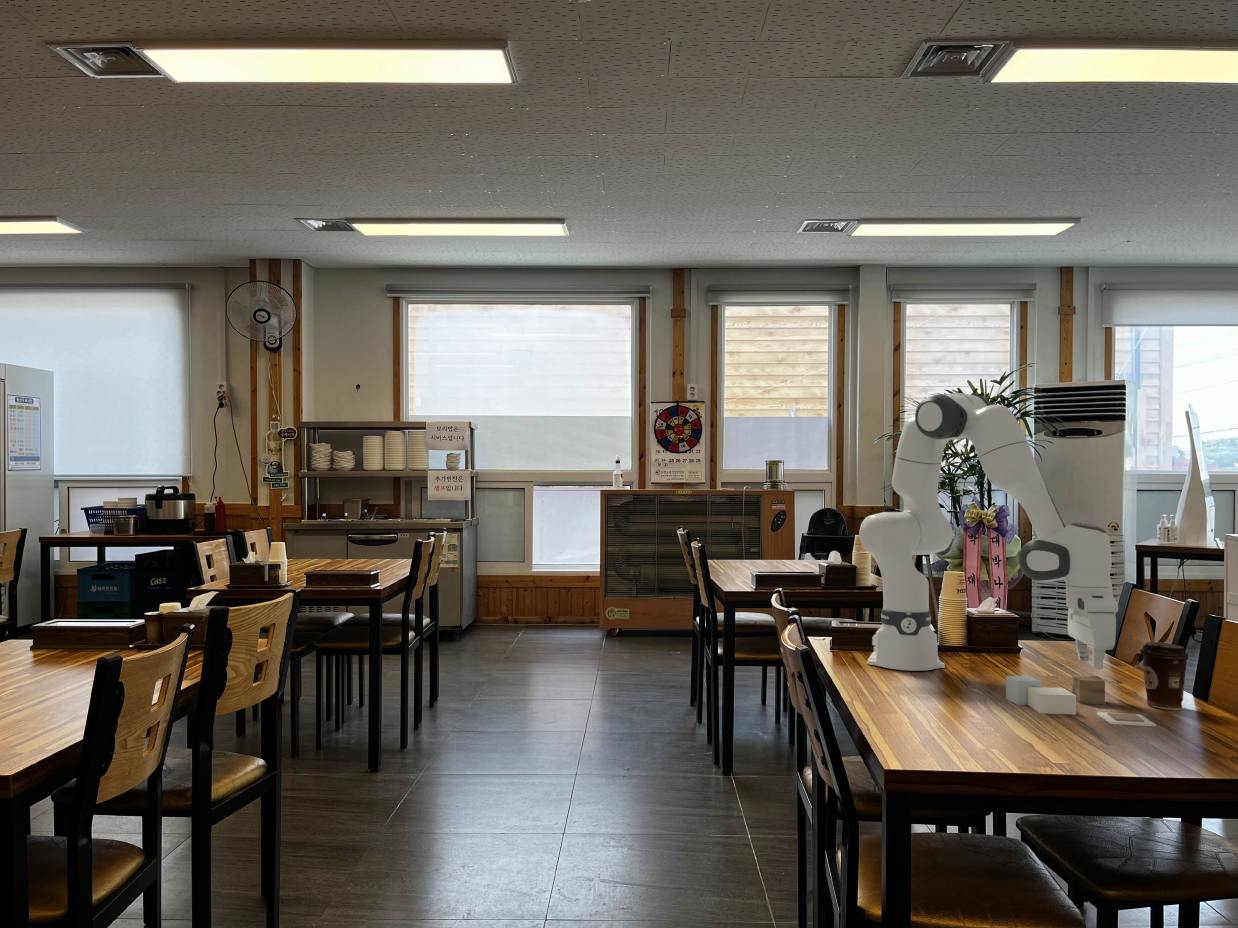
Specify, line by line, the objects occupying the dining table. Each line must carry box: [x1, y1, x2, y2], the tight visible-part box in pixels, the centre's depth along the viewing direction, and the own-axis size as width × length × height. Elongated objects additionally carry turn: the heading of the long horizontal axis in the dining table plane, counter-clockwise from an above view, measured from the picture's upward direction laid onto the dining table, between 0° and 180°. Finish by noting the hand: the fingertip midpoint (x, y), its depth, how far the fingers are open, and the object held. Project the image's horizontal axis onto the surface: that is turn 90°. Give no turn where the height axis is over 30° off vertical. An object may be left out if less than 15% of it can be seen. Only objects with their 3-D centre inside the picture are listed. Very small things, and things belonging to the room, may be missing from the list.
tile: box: [1096, 711, 1157, 727], centre depth 178 cm, size 8×8×1 cm
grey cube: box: [1005, 675, 1042, 706], centre depth 193 cm, size 5×5×5 cm
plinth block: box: [1027, 686, 1077, 715], centre depth 186 cm, size 7×7×4 cm
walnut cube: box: [1071, 674, 1106, 705], centre depth 194 cm, size 5×5×5 cm
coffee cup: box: [1139, 641, 1190, 711], centre depth 190 cm, size 9×8×13 cm
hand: (1090, 664), depth 194 cm, fingers open, 8 cm apart
